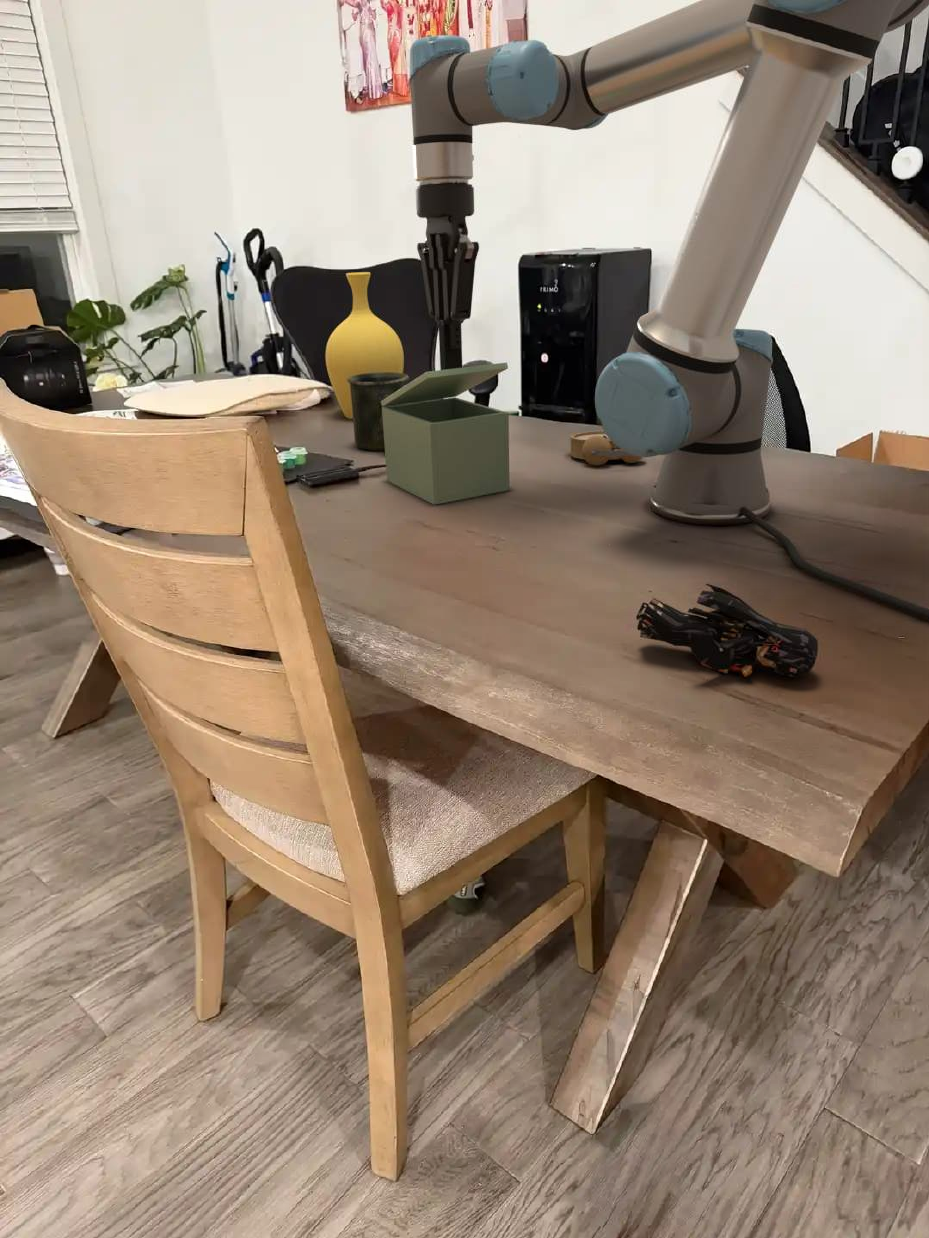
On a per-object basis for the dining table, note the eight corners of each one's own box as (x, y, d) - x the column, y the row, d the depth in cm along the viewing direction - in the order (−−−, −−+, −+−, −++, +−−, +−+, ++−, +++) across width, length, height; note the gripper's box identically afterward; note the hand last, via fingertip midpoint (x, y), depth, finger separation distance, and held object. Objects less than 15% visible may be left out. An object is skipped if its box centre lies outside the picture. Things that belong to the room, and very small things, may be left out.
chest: (509, 490, 124) (508, 412, 119) (434, 505, 118) (429, 424, 114) (457, 468, 136) (455, 397, 132) (387, 481, 131) (381, 407, 126)
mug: (408, 436, 159) (404, 370, 154) (419, 453, 146) (415, 383, 141) (350, 440, 157) (345, 374, 152) (357, 458, 144) (350, 387, 139)
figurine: (621, 643, 70) (811, 686, 65) (643, 557, 71) (832, 592, 66) (635, 661, 78) (805, 700, 73) (655, 583, 79) (824, 616, 74)
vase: (373, 405, 190) (363, 270, 178) (422, 412, 179) (415, 270, 168) (315, 417, 179) (300, 275, 168) (364, 426, 169) (352, 275, 157)
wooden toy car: (626, 429, 145) (657, 431, 131) (626, 458, 146) (657, 463, 132) (562, 433, 144) (586, 436, 129) (563, 462, 145) (587, 468, 131)
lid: (508, 368, 117) (507, 362, 117) (427, 378, 111) (426, 371, 111) (455, 397, 132) (454, 391, 131) (382, 406, 126) (380, 401, 126)
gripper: (495, 180, 105) (498, 375, 115) (445, 186, 115) (452, 364, 125) (442, 180, 101) (450, 381, 111) (396, 186, 112) (407, 370, 122)
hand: (451, 372), depth 118 cm, fingers closed
